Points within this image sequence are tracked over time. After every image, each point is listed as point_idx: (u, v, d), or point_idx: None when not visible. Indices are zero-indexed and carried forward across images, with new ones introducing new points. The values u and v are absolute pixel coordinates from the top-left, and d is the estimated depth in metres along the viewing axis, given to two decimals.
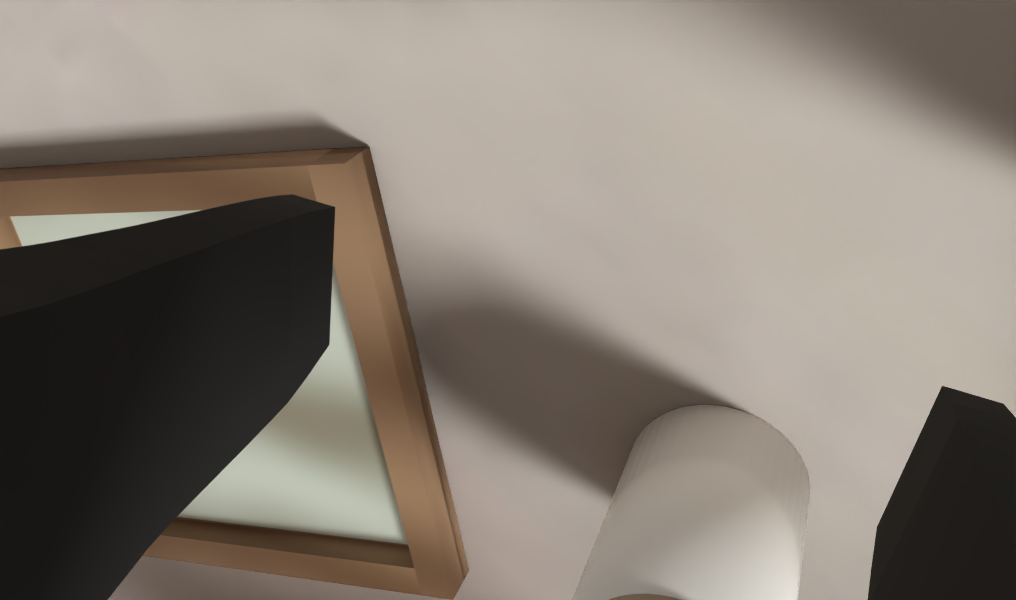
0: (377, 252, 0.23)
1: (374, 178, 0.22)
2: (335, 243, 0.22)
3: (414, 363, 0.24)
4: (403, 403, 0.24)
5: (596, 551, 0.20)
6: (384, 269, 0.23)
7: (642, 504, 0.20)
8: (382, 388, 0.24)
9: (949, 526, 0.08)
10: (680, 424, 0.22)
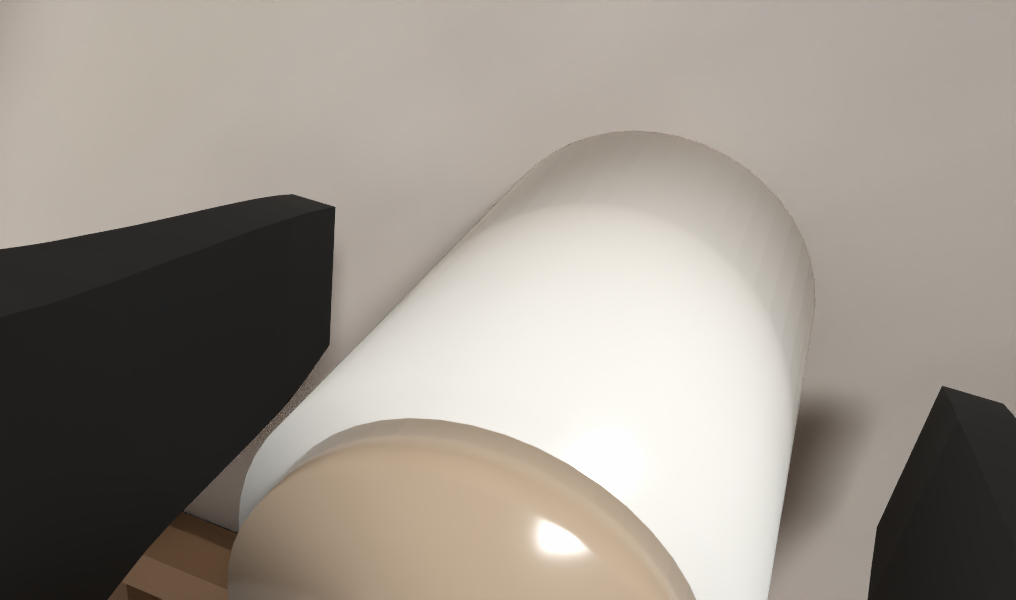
0: (203, 556, 0.17)
1: None
2: (167, 594, 0.17)
3: None
4: None
5: None
6: None
7: None
8: None
9: (947, 526, 0.08)
10: None
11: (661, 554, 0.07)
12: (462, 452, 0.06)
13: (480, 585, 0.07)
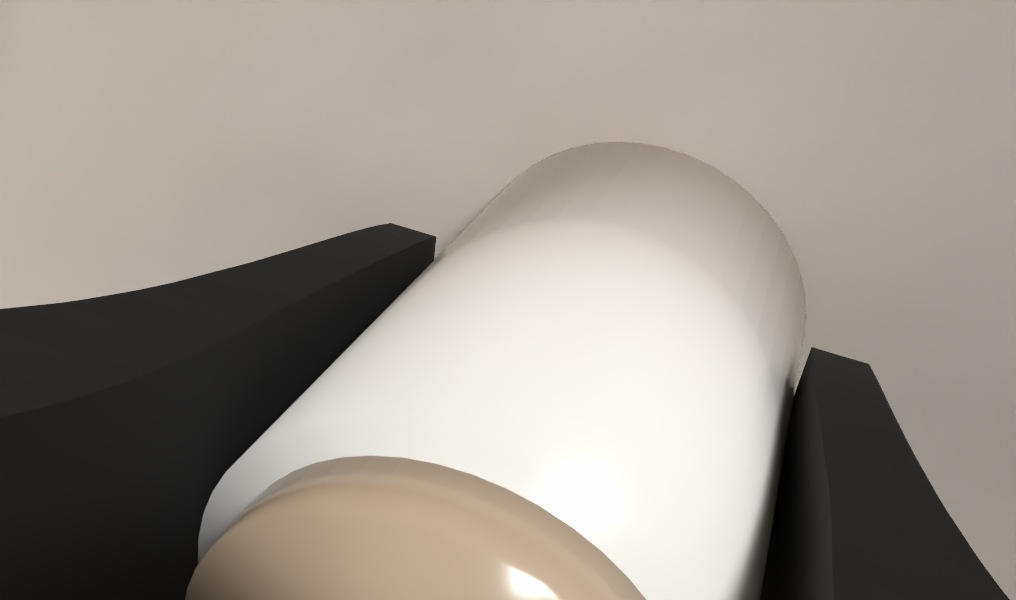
0: None
1: None
2: None
3: None
4: None
5: None
6: None
7: None
8: None
9: (795, 477, 0.09)
10: None
11: None
12: (426, 495, 0.06)
13: None
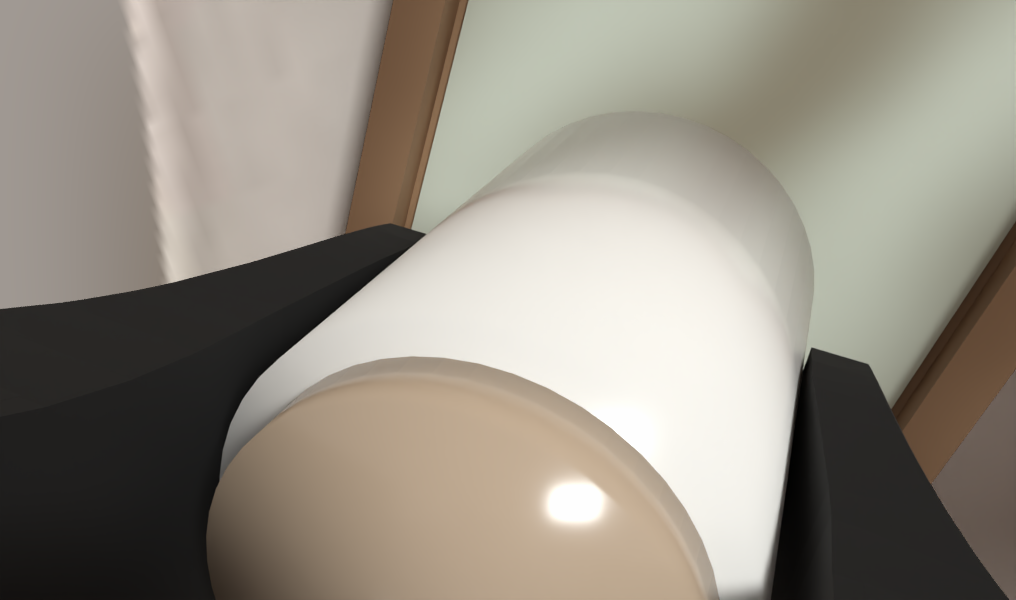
0: None
1: None
2: None
3: None
4: None
5: None
6: None
7: None
8: None
9: (795, 476, 0.09)
10: None
11: (674, 507, 0.06)
12: (470, 387, 0.06)
13: (481, 534, 0.06)
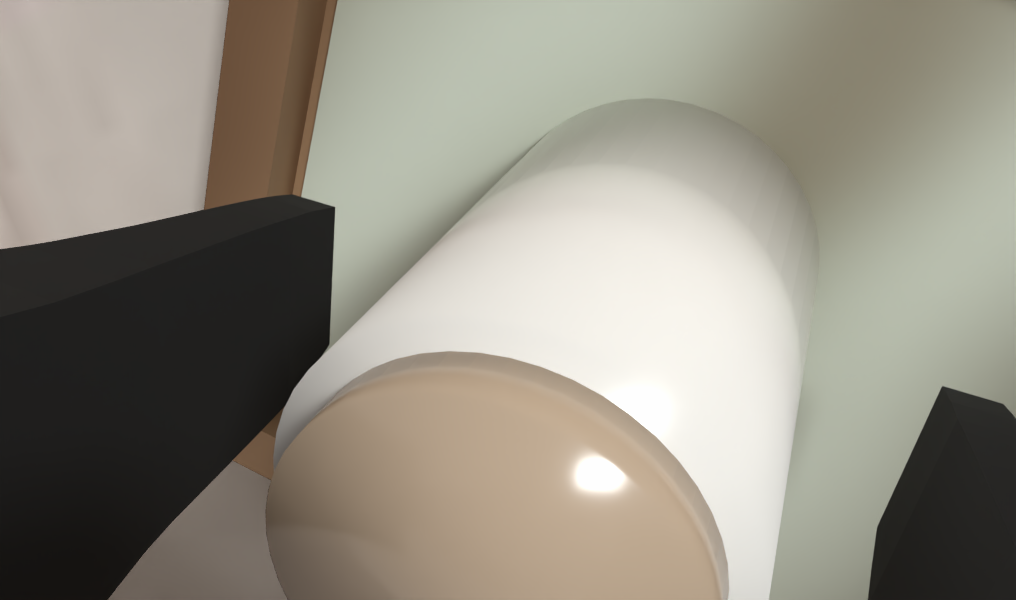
0: None
1: None
2: None
3: None
4: None
5: None
6: None
7: None
8: None
9: (947, 526, 0.08)
10: None
11: (686, 484, 0.07)
12: (503, 382, 0.07)
13: (514, 510, 0.07)
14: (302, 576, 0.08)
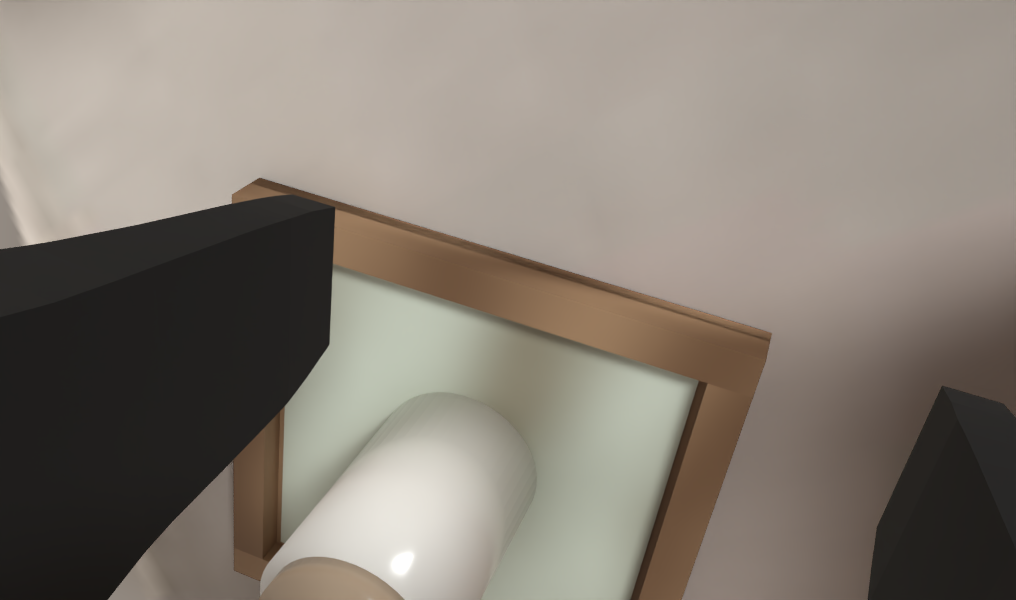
0: None
1: (283, 187, 0.23)
2: None
3: (467, 246, 0.22)
4: (476, 271, 0.21)
5: None
6: (350, 218, 0.23)
7: None
8: (457, 285, 0.22)
9: (949, 526, 0.08)
10: None
11: (401, 599, 0.19)
12: (329, 569, 0.19)
13: None
14: None
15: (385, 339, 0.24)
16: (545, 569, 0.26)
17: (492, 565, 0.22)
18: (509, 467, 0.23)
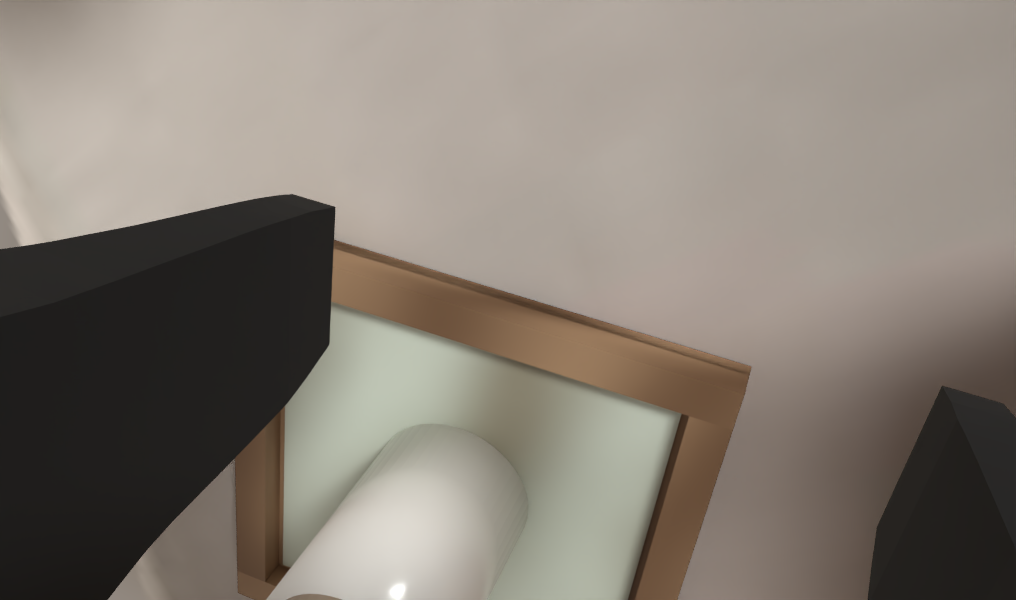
0: None
1: None
2: None
3: (457, 283, 0.23)
4: (465, 308, 0.22)
5: None
6: (344, 256, 0.23)
7: None
8: (447, 321, 0.22)
9: (949, 527, 0.08)
10: None
11: None
12: None
13: None
14: None
15: (380, 371, 0.25)
16: (538, 592, 0.27)
17: (484, 596, 0.23)
18: (501, 498, 0.24)
